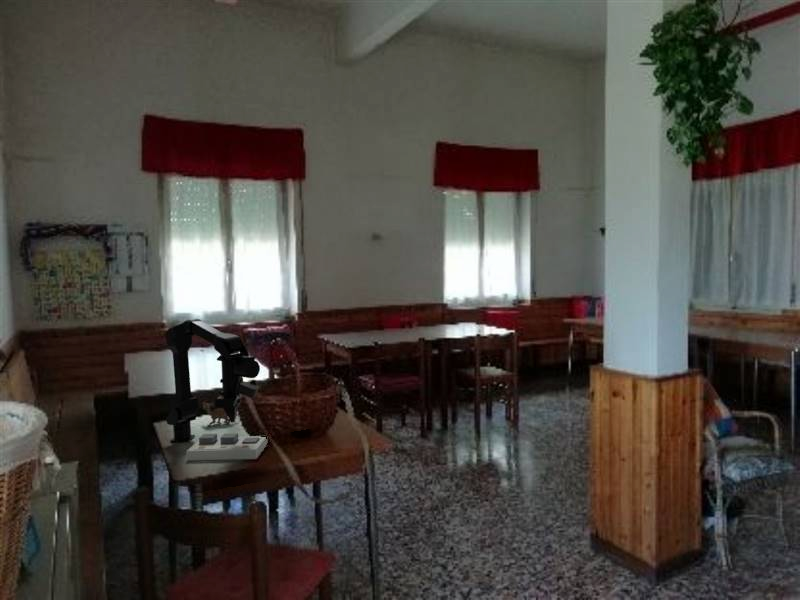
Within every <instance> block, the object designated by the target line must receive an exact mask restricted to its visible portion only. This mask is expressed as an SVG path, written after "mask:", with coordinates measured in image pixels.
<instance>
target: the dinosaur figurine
mask: <svg viewBox="0 0 800 600" xmlns="http://www.w3.org/2000/svg"><path fill="white" fill-rule="evenodd" d="M207 401H208V399H205V400H204V401H203V402H202V406H203V407H202V408H203V410H205V411H206V412H207V414H208V415H209V416H210V418H211V419H212V421H211V422H209V424H207V426H206V427H211V426H212V425H213V424H216V423H217V424H218V423H220V422H221V420H222V419H223V420H224V421H223V423H225V425H226V426H230V424H231V421H230V420H229V418H228V416H227V414H226V412H225V411H224V409H223V408H214V402H211V403H210V402H207ZM212 408H214V409H212ZM237 414H238V413H237ZM237 414H236V417H237V416H238V415H239V414H238V415H237ZM217 419H218V420H217ZM216 420H217V421H216Z"/></svg>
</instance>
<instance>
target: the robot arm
mask: <svg viewBox="0 0 800 600" xmlns="http://www.w3.org/2000/svg"><path fill="white" fill-rule="evenodd" d="M194 336H197V337H199V338H201V339H203V340H204V341H206V342H208V343H210V344H211V345H212V346H213V348H214V350H215V351H216V353H219V356H218V357H217V358H216V361H219V362H221V379H219V382H220V384H222V387H221V389H222V391H221V392H220V395H219V396H218V397H217V398H216V399H215V400H213V403H214V407H213V408H214V409H215V408H223V409H224V411H225V412H226V414H227V416H228V419H229V420H230V423H235V422H236V418H237V416H236V414H238V409H239V405H240V404H241V403H242V402H243V401H242V399H240V395H243V396H245V397H248V398H249V399H254V398H255V397H256V396H257V394H258V391H259V390H260V385H258V380H256V379H255V378H257V376H258V375H259V373H260V370H261V367H260V364H259V362H258V361H257V360H256V357H255V356H254V355H253V356H252V355H250V353H249V351H248V349H247V348H246V346H245V344H244V343H243V342H244V341H242V338H241V337H240V336H239V335H236V334H233V333H228V332H227V333H226V332H222V331H220V330H219V329H216V328H215V327H212V326H211V325H209V324H207V323H205V322H203V321H202V320H201V319H200V318H190V319H186V320H185V321H183V322H182V323H180V324H177V325H175V326H173V327H169V328H168V329H167V331H165V340H166V345H167V348H168V349H169V350H170V352H171V353H172V361H173V362H172V363H173V364H172V365H173V375H174V388H175V390H174V391H175V395H174V397H173V399H172V401H171V410H170V411H169V413H168V414H167V416H166V417H165V421H166V424H167V425H169V426H172V429H173V430H172V431H173V438H171V439H170V440H169V442H170V443H173V442H172V441H181V442H180V443H182V442H184V443H185V442H190V441H191V440H192V439H194V438H195V436H196V435H195V434H192V429H191V428H192V427H191V422H192V421H195V420H197V415H198V411H199V407H200V406H199V399H198V397H195V396H194V395H193V393H192V391H191V390H192V389H191V378H190V377H191V376H190V363H189V361H190V359H189V350H190V349H191V346H192V345H193V337H194ZM244 378H246V379H252V380H251V381H250V382H249V381H244Z"/></svg>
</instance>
